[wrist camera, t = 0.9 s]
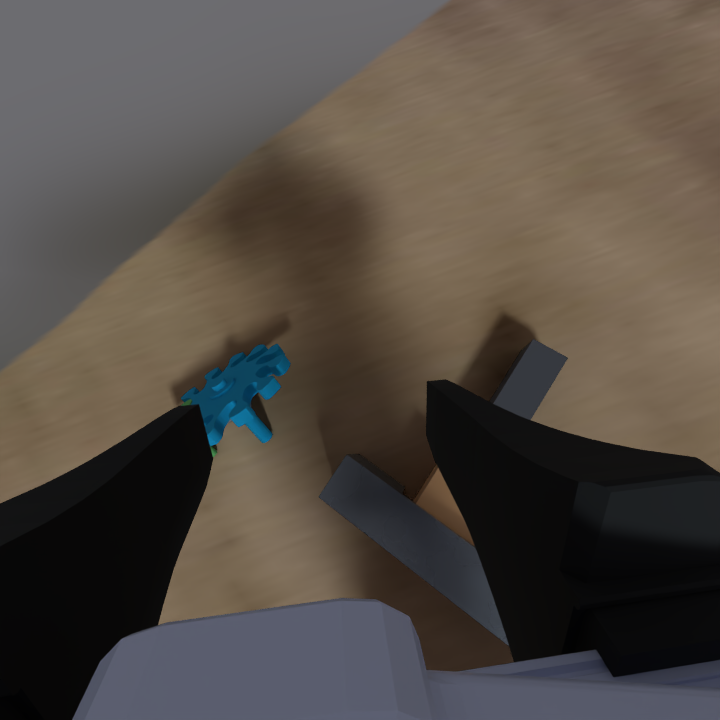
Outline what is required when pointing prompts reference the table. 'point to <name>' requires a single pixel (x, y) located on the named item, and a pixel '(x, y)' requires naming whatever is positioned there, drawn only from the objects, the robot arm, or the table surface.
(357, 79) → the table surface
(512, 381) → the plug
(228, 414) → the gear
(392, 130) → the table surface
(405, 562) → the housing
